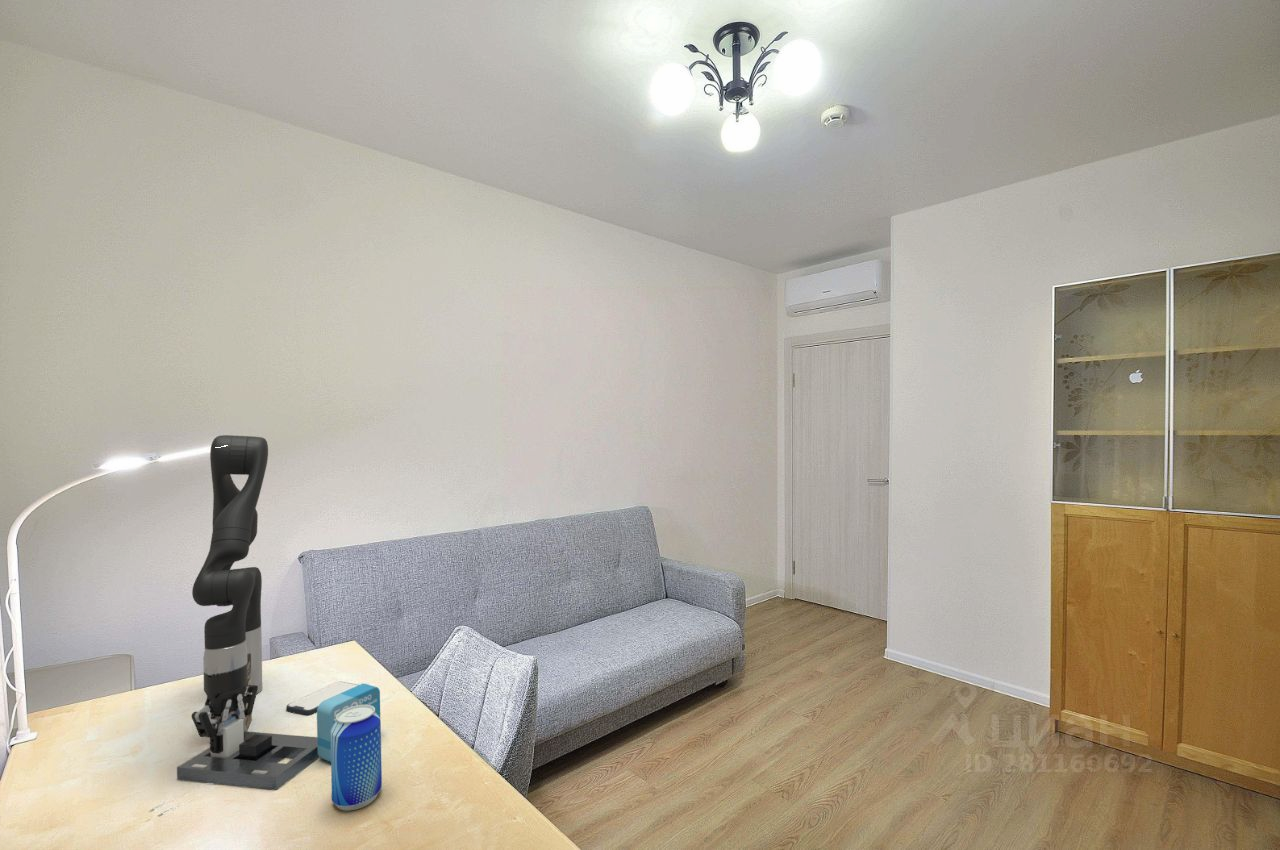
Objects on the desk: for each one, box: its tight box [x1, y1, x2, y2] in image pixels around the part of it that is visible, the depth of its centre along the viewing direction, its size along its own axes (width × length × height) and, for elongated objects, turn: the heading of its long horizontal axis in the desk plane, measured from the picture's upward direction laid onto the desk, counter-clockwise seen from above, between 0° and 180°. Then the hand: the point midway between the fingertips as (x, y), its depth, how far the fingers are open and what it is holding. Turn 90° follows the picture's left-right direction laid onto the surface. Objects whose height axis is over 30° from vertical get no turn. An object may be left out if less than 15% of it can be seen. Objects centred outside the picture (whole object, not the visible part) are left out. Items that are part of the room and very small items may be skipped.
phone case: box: [285, 681, 359, 716], centre depth 148 cm, size 9×2×16 cm
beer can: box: [330, 705, 383, 812], centre depth 107 cm, size 8×8×16 cm
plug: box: [211, 716, 244, 758], centre depth 120 cm, size 4×4×9 cm
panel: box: [176, 730, 320, 791], centre depth 119 cm, size 23×14×5 cm, turn 80°
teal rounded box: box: [316, 683, 381, 763], centre depth 124 cm, size 12×4×12 cm, turn 152°
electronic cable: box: [148, 783, 215, 817], centre depth 108 cm, size 4×10×1 cm, turn 154°
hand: (227, 745), depth 120 cm, fingers closed on plug, 4 cm apart
